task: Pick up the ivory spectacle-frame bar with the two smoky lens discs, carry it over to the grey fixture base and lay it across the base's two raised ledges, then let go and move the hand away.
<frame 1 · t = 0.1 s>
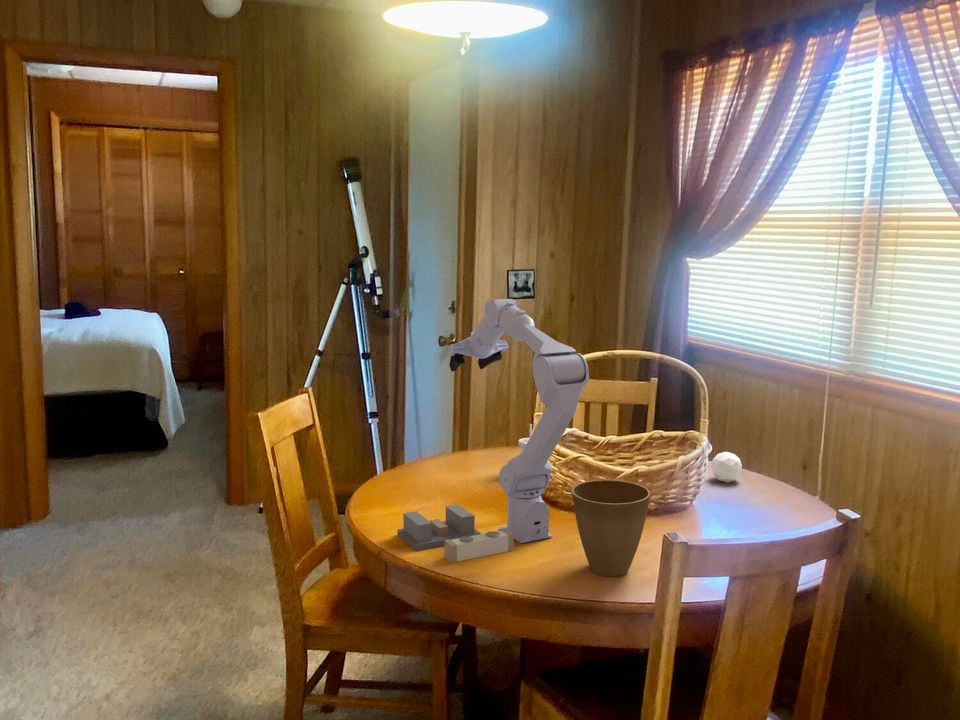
hand: (465, 366, 204), 32 cm above the table, tool tilted 50°, fingers open, 7 cm apart
smoothie: (529, 476, 225), on the table
geometric ball: (725, 481, 223), on the table
frame bar: (479, 553, 174), on the table
plant pot: (607, 569, 167), on the table
grey fixture base: (438, 536, 183), on the table
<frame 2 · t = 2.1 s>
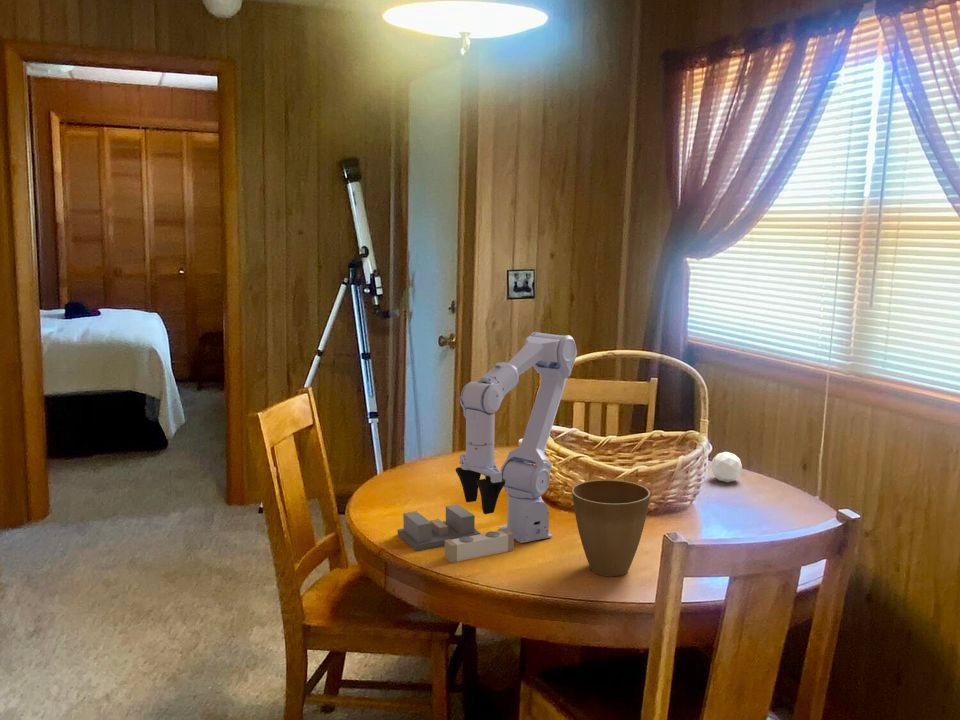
hand: (479, 507, 172), 10 cm above the table, tool pointing down, fingers open, 7 cm apart
nothing on the table moved.
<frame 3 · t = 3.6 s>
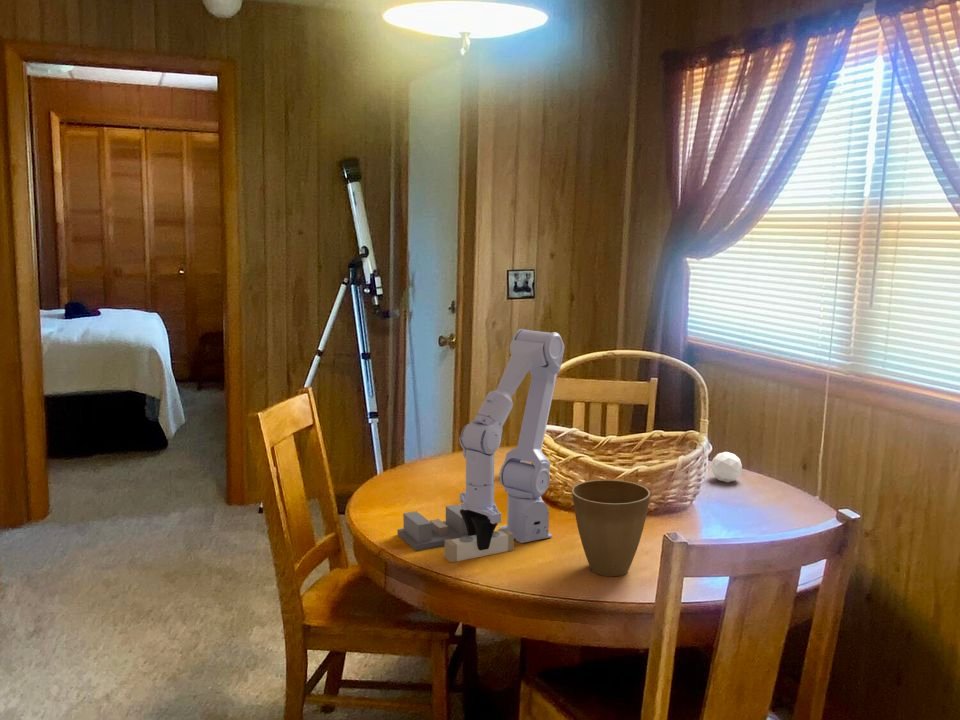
hand: (479, 546, 174), 2 cm above the table, tool pointing down, fingers closed on frame bar, 3 cm apart
frame bar: (479, 553, 174), on the table, touching gripper
everything else where it was.
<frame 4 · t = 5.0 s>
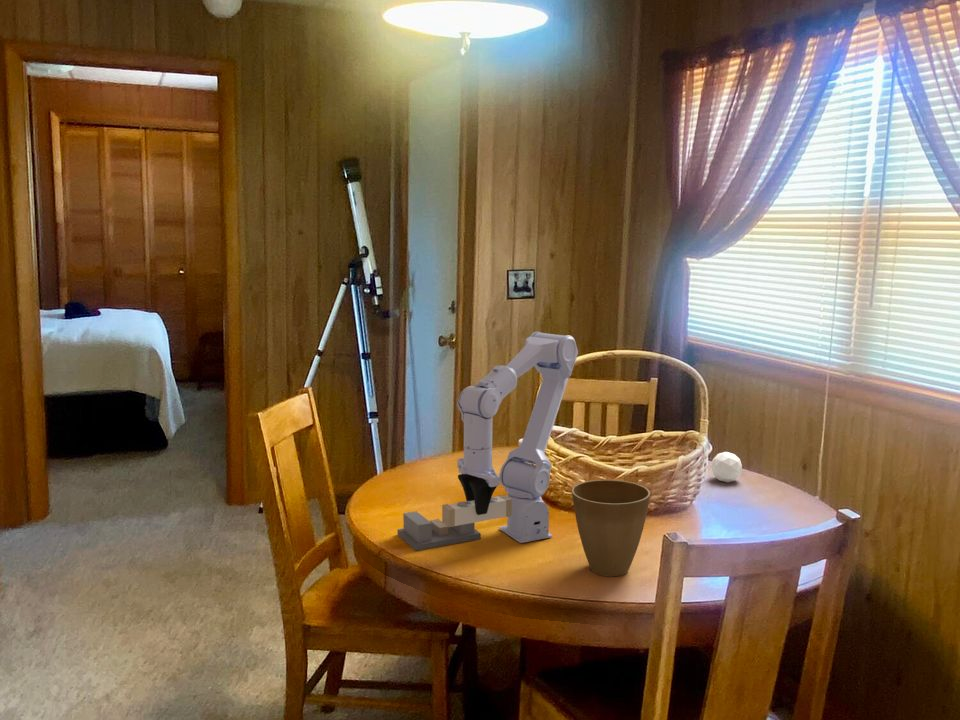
hand: (477, 511, 173), 9 cm above the table, tool pointing down, fingers closed on frame bar, 3 cm apart
frame bar: (477, 519, 173), point 7 cm above the table, touching gripper
everything else where it was.
when the fingers open (8 cm above the table, at t = 6.5 s): frame bar stays where it is, resting on grey fixture base.
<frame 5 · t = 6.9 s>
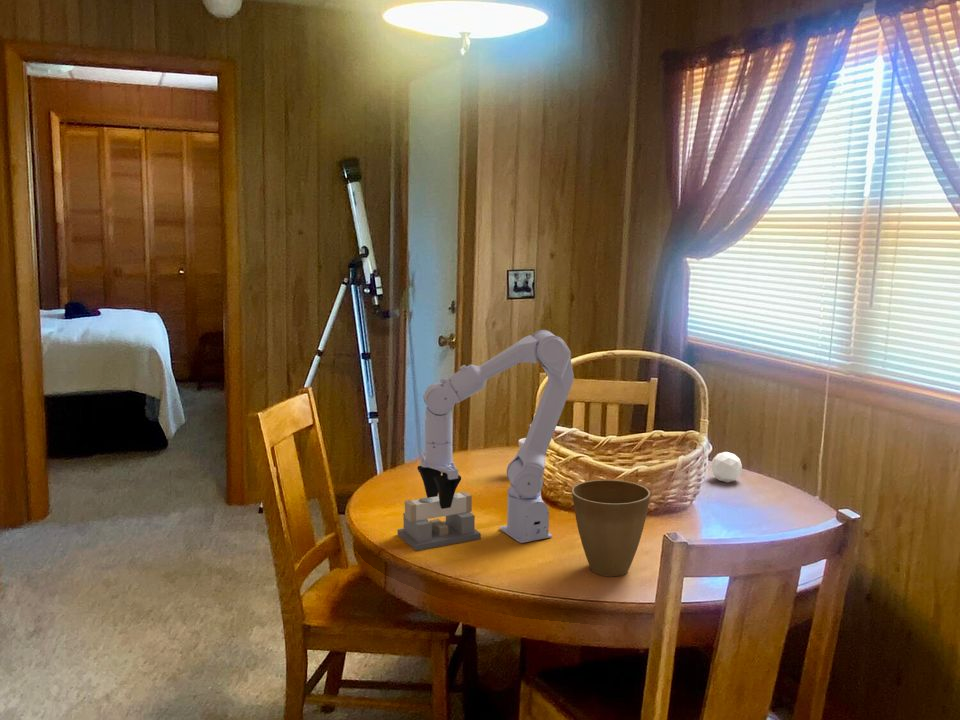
hand: (438, 502, 182), 8 cm above the table, tool pointing down, fingers open, 6 cm apart
frame bar: (438, 514, 182), point 5 cm above the table, touching grey fixture base
everything else where it was.
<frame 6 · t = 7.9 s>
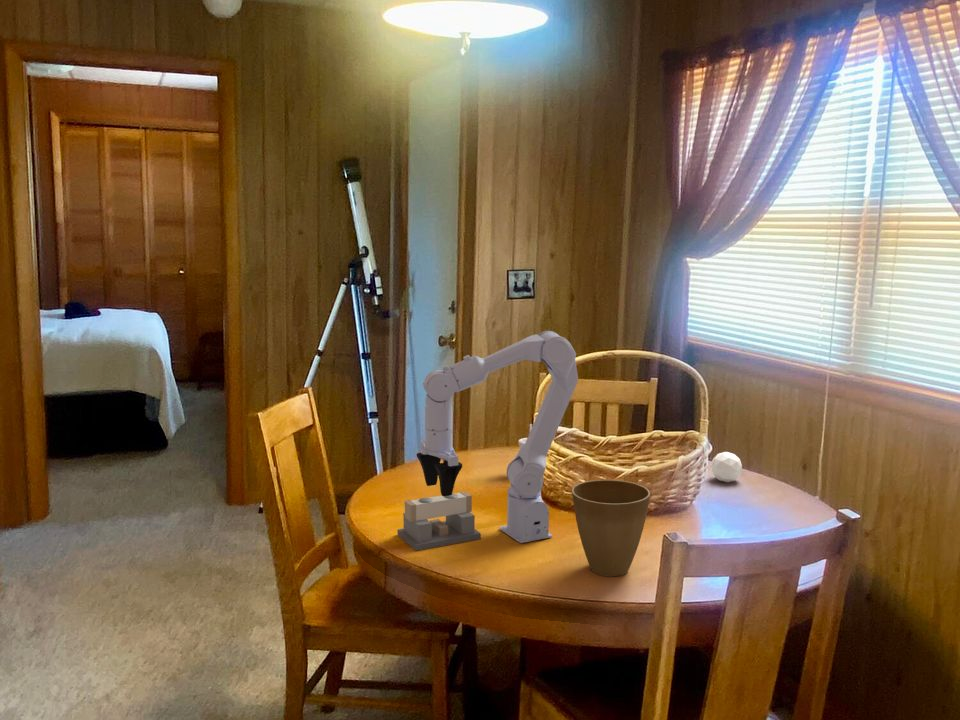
hand: (438, 490, 181), 10 cm above the table, tool pointing down, fingers open, 7 cm apart
nothing on the table moved.
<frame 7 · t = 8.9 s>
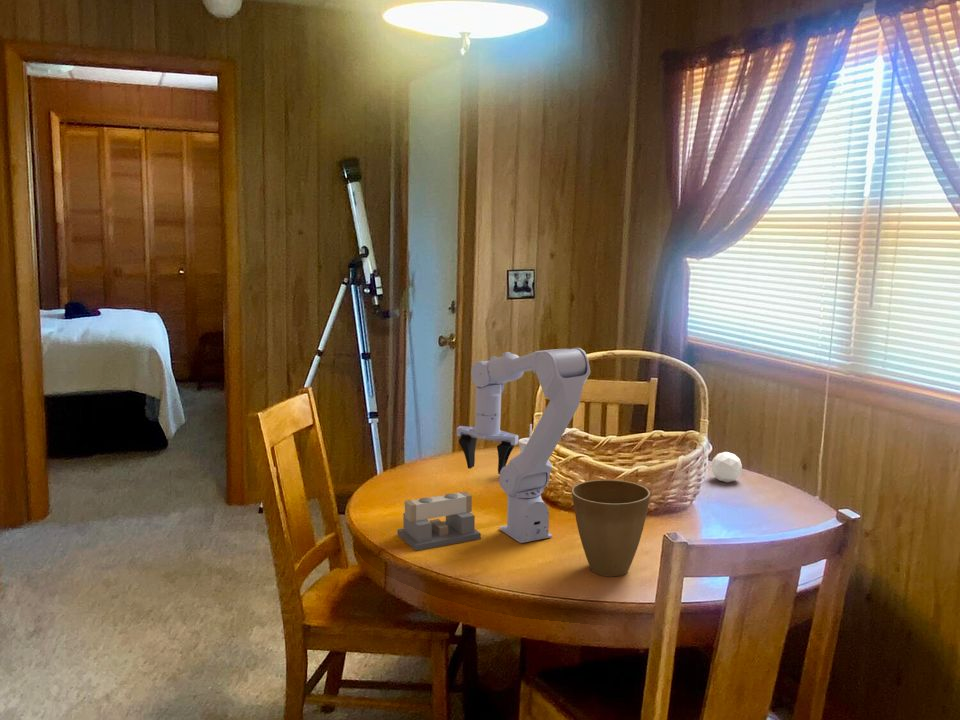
hand: (486, 470, 195), 10 cm above the table, tool pointing down, fingers open, 7 cm apart
nothing on the table moved.
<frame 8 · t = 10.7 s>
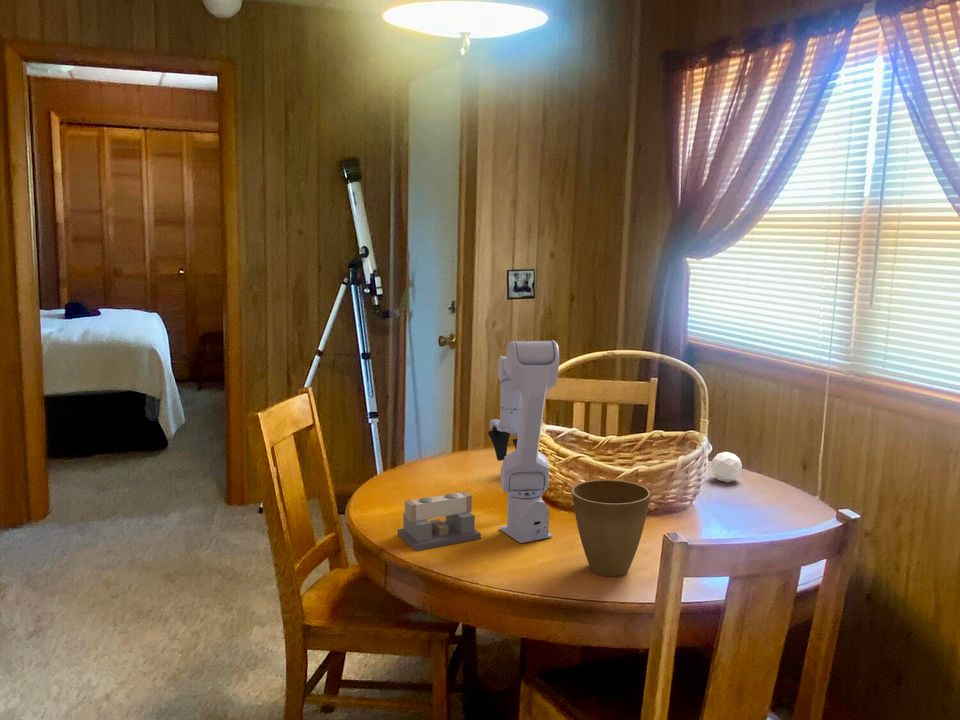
hand: (511, 463, 201), 10 cm above the table, tool pointing down, fingers open, 7 cm apart
nothing on the table moved.
at the end: frame bar 0.1 cm off-centre on the grey fixture base, point 5.0 cm above the grey fixture base's base; frame bar tilted 0°; the gripper is holding nothing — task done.
